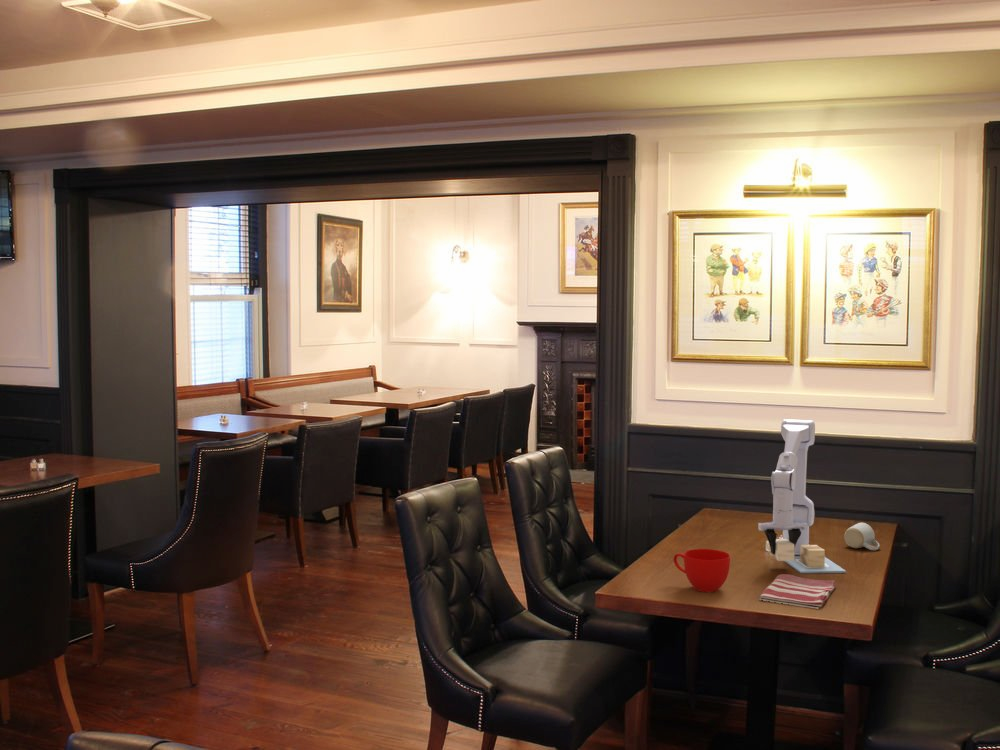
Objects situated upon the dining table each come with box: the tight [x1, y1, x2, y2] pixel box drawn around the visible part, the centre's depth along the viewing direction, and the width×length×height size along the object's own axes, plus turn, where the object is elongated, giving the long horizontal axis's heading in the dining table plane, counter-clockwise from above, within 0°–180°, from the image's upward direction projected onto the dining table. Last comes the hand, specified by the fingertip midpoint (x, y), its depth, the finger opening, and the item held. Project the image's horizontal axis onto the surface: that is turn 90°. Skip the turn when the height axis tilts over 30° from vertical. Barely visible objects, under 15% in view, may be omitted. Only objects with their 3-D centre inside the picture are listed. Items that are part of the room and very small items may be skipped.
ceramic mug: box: [843, 522, 881, 551], centre depth 318 cm, size 11×8×8 cm
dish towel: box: [758, 573, 836, 610], centre depth 267 cm, size 17×23×3 cm
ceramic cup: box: [673, 548, 731, 593], centre depth 272 cm, size 13×17×10 cm
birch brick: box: [769, 538, 795, 562], centre depth 291 cm, size 7×5×5 cm
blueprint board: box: [784, 555, 847, 574], centre depth 296 cm, size 18×14×1 cm
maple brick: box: [799, 544, 826, 566], centre depth 296 cm, size 7×5×5 cm
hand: (782, 553), depth 291 cm, fingers closed on birch brick, 5 cm apart
